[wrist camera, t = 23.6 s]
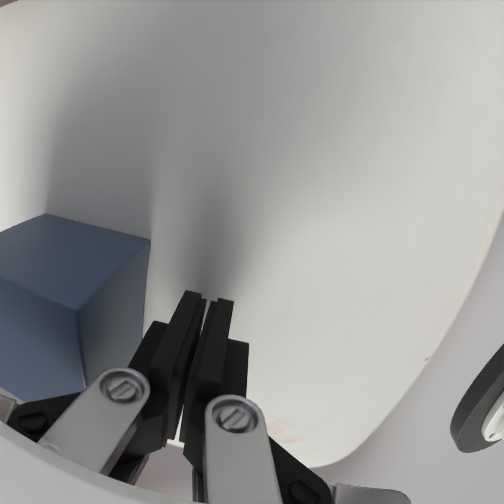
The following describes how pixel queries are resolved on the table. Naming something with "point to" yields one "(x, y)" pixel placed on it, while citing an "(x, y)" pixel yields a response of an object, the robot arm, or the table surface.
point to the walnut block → (5, 2)
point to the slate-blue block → (67, 304)
